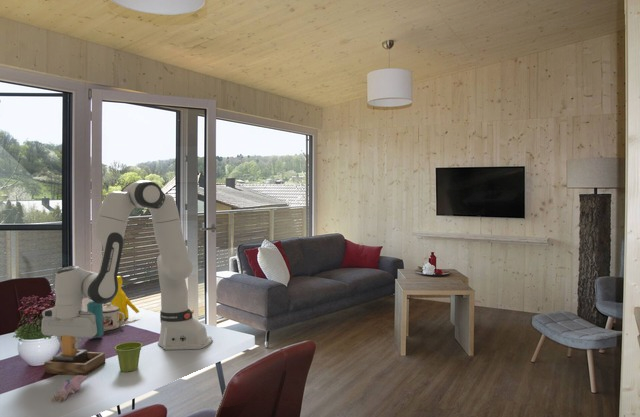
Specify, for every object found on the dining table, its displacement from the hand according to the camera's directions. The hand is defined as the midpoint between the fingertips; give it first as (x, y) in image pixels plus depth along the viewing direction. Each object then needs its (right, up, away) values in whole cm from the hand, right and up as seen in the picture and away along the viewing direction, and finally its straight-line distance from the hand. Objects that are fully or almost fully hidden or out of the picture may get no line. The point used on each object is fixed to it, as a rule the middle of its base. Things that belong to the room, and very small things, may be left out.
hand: (69, 347), depth 177 cm
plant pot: (+22, -8, -1) cm, 24 cm away
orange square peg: (0, -4, 0) cm, 4 cm away
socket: (0, -8, 0) cm, 8 cm away
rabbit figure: (+11, -9, -21) cm, 25 cm away
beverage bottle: (-6, -6, +34) cm, 35 cm away
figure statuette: (-8, -4, +64) cm, 65 cm away
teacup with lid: (-6, -5, +50) cm, 50 cm away
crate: (+2, -8, 0) cm, 8 cm away
